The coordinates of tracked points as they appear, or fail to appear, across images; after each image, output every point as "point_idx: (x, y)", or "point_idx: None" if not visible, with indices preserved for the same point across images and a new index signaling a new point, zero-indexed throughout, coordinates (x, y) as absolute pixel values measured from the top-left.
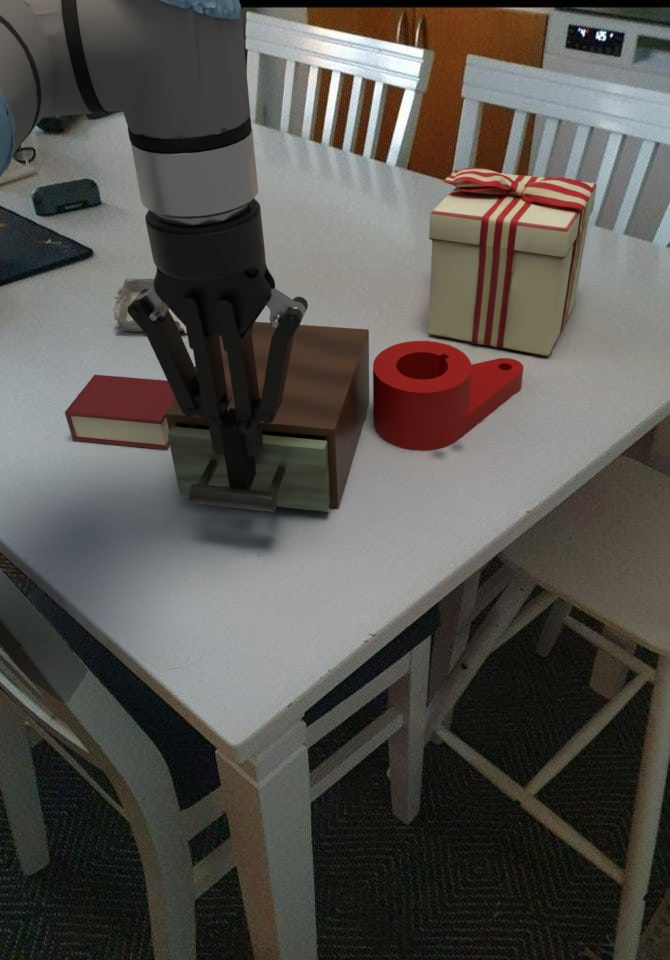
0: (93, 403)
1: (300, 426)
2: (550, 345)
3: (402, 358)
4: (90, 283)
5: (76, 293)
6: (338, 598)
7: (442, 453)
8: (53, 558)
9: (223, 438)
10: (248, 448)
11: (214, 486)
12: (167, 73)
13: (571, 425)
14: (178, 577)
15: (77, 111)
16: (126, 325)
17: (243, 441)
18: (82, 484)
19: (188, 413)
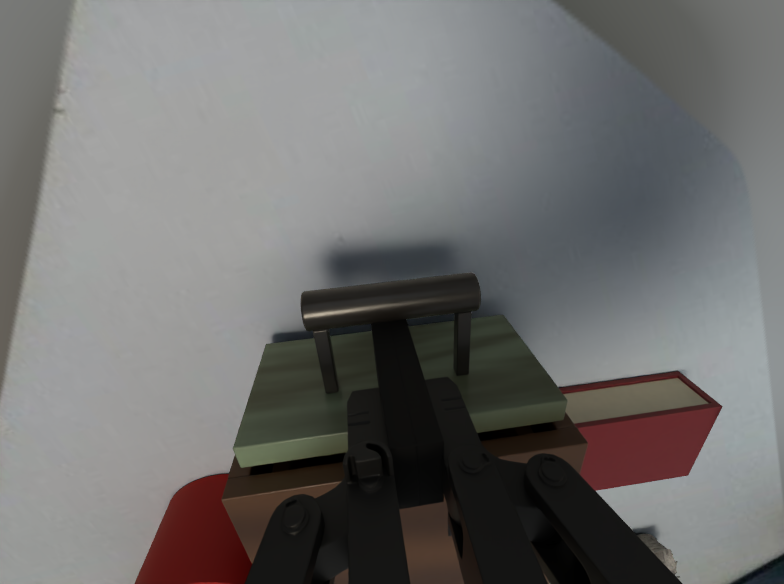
0: (681, 431)
1: (298, 486)
2: None
3: None
4: (697, 574)
5: (710, 559)
6: (166, 182)
7: (176, 479)
8: (668, 145)
9: (429, 413)
10: (371, 406)
11: (433, 311)
12: None
13: (42, 557)
14: (452, 157)
15: None
16: (649, 542)
17: (383, 420)
18: (650, 303)
19: (549, 464)
